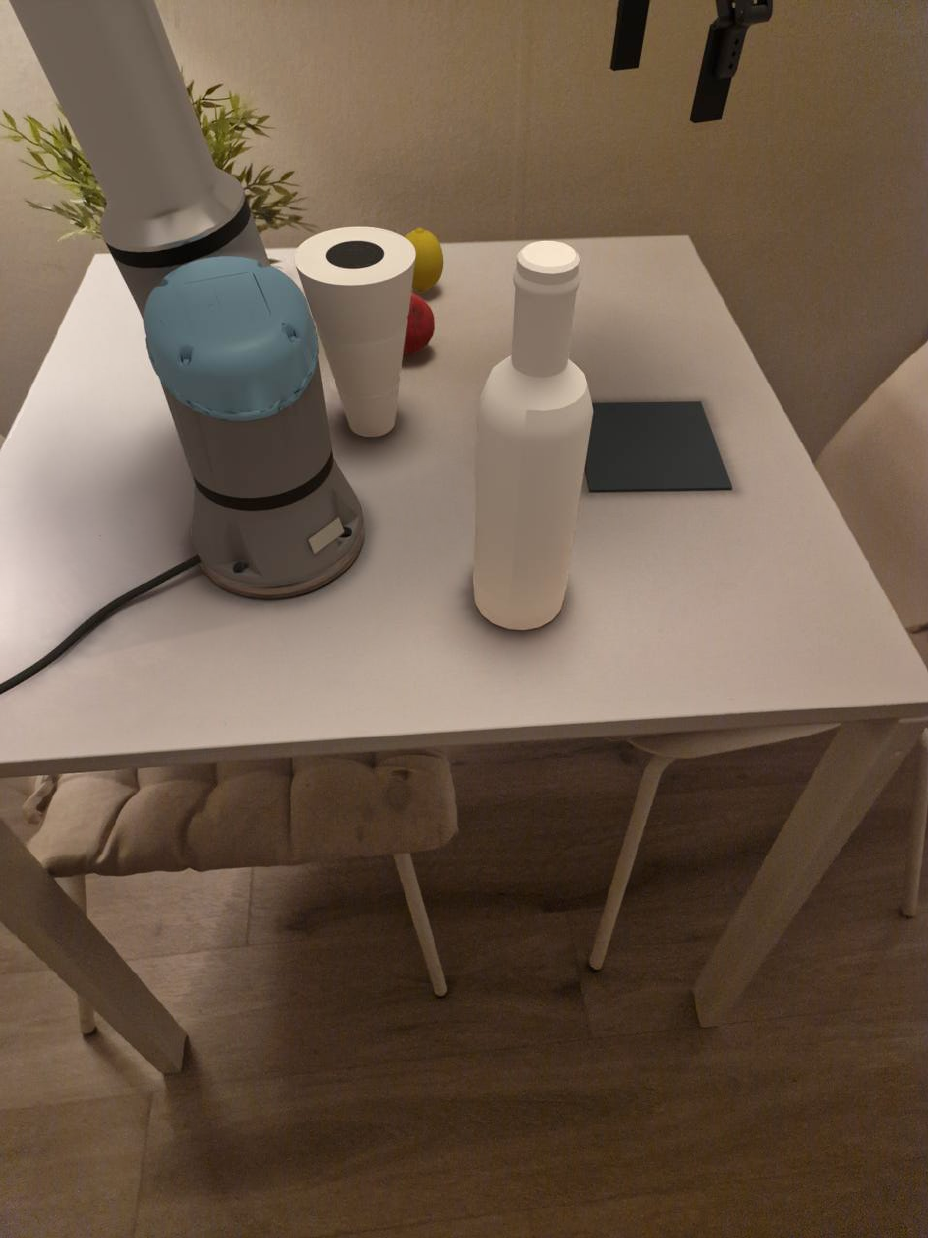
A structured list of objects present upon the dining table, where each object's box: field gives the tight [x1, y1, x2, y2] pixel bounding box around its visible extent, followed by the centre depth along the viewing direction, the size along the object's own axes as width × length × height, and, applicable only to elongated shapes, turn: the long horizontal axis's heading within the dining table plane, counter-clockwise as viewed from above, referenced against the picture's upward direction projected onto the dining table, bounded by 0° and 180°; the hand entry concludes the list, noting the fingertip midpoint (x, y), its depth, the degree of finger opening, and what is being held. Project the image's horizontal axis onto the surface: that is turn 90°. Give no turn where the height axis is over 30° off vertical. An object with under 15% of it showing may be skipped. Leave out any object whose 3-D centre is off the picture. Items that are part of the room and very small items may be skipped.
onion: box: [403, 288, 436, 355], centre depth 89 cm, size 6×6×8 cm
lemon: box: [404, 227, 444, 294], centre depth 98 cm, size 6×6×8 cm
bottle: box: [472, 240, 593, 631], centre depth 57 cm, size 8×8×30 cm
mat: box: [584, 400, 733, 493], centre depth 82 cm, size 14×14×1 cm
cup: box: [293, 226, 416, 438], centre depth 77 cm, size 11×11×18 cm
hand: (662, 93), depth 70 cm, fingers open, 13 cm apart
